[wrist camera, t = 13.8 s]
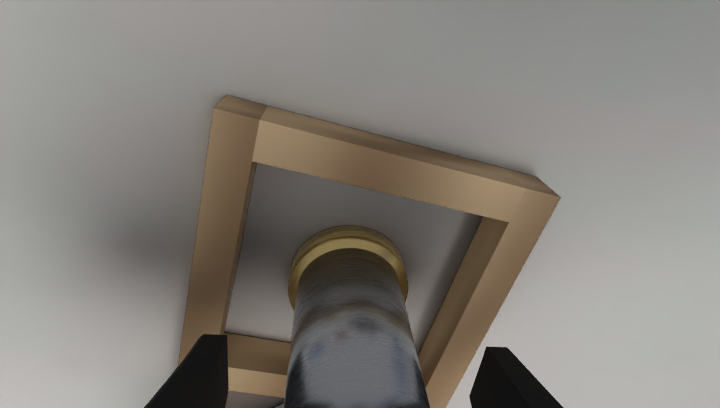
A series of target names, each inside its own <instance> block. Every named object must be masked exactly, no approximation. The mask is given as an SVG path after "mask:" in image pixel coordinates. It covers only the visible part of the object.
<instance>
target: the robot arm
mask: <svg viewBox="0 0 720 408" xmlns="http://www.w3.org/2000/svg"><path fill="white" fill-rule="evenodd" d="M228 390H229V382H228V345H227V335H215V334H203V335H202V336H200V337H199V338H198V340H197V341H196V343H195V344H194V346H193V347H192V348H191V350H190V351H189V353H188V354H187V355H186V357H185V358H184V359H183V361H182V362H181V363H180V365H179V366H178V367H177V368H176V370H175V371H174V372H173V374H172V375H171V376H170V377H169V379H168V380H167V381H166V382H165V383H164V385H163V386H162V387H161V388H160V389H159V391H158V392H157V393H156V394H155V395H154V397H153V398H152V399H151V400H150V401H149V403H148V404H147V405H146V406H145V407H144V408H225V404H226V399H227V395H228ZM470 401H471V406H472V408H563V407H562V406H561V405H560V404H559V403H558V402H557V400H556V399H555V398H554V397H553V396H552V395H551V394H550V393H549V392H548V391H547V390H546V389H545V388H544V387H543V386H542V384H541V383H540V382H539V381H538V380H537V379H536V378H535V377H534V376H533V375H532V374H531V373H530V371H529V370H528V369H527V368H526V367H525V366H524V365H523V364H522V363H521V362H520V361H519V360H518V358H517V357H516V356H515V355H514V354H513V353H512V352H511V351H510V350H509V349H508V348H505V347H486V350H485V353H484V356H483V359H482V362H481V364H480V367H479V370H478V373H477V376H476V379H475V382H474V385H473V387H472V390H471V393H470Z"/></svg>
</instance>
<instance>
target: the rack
mask: <svg viewBox="0 0 720 408" xmlns="http://www.w3.org/2000/svg"><path fill="white" fill-rule="evenodd" d="M257 162H258V163H262V164H266V165H270V166H274V167H279V168H283V169H287V170H291V171H295V172H300V173H304V174H308V175H312V176H316V177H321V178H325V179H329V180H333V181H337V182H342V183H346V184H350V185H354V186H358V187H363V188H367V189H371V190H375V191H379V192H384V193H388V194H392V195H396V196H400V197H405V198H409V199H413V200H417V201H421V202H426V203H430V204H434V205H438V206H442V207H447V208H451V209H455V210H459V211H463V212H468V213H472V214H476V215H480V216H483V218H482V221H481V223H480V225H479V227H478V229H477V231H476V233H475V235H474V238H473V240H472V242H471V244H470V246H469V248H468V250H467V252H466V255H465V257H464V259H463V261H462V263H461V265H460V267H459V269H458V272H457V274H456V276H455V278H454V280H453V282H452V284H451V287H450V289H449V291H448V293H447V295H446V297H445V299H444V301H443V304H442V306H441V308H440V310H439V312H438V314H437V316H436V318H435V321H434V323H433V325H432V327H431V329H430V331H429V333H428V335H427V338H426V340H425V342H424V344H423V346H422V348H421V350H420V352H419V355H418V360H419V364H420V368H421V372H422V376H423V381H424V385H425V389H426V393H427V397H428V401H429V405H430V408H446V406H447V404H448V402H449V400H450V399H451V397H452V395H453V393H454V391H455V390H456V388H457V386H458V384H459V382H460V380H461V379H462V377H463V375H464V373H465V371H466V370H467V368H468V366H469V364H470V362H471V360H472V359H473V357H474V355H475V353H476V351H477V349H478V348H479V346H480V344H481V342H482V340H483V339H484V337H485V335H486V333H487V331H488V329H489V328H490V326H491V324H492V322H493V320H494V318H495V317H496V315H497V313H498V311H499V309H500V308H501V306H502V304H503V302H504V300H505V298H506V297H507V295H508V293H509V291H510V289H511V287H512V286H513V284H514V282H515V280H516V278H517V277H518V275H519V273H520V271H521V269H522V267H523V266H524V264H525V262H526V260H527V258H528V256H529V255H530V253H531V251H532V249H533V247H534V246H535V244H536V242H537V240H538V238H539V236H540V235H541V233H542V231H543V229H544V227H545V226H546V224H547V222H548V220H549V218H550V216H551V215H552V213H553V211H554V209H555V207H556V205H557V204H558V202H559V200H560V198H561V197H560V196H559V195H557V194H556V193H555V192H554V191H553V190H552V189H550V188H549V187H548V186H547V185H546V184H545V183H543V182H542V181H541V180H540V179H539V178H538V177H534V176H531V175H527V174H523V173H519V172H516V171H512V170H508V169H504V168H500V167H497V166H493V165H489V164H485V163H482V162H478V161H474V160H470V159H466V158H463V157H459V156H455V155H451V154H448V153H444V152H440V151H436V150H432V149H429V148H425V147H421V146H417V145H413V144H410V143H406V142H402V141H398V140H395V139H391V138H387V137H383V136H379V135H376V134H372V133H368V132H364V131H361V130H357V129H353V128H349V127H345V126H342V125H338V124H334V123H330V122H327V121H323V120H319V119H315V118H311V117H308V116H304V115H300V114H296V113H293V112H289V111H285V110H281V109H277V108H274V107H270V106H266V105H262V104H258V103H255V102H251V101H247V100H243V99H240V98H236V97H232V96H228V95H227V96H226V97H224V98H223V99H222V100H221V101H220V102H219V103H218V104H217V105H216V106H215V107H214V108H213V114H212V121H211V129H210V136H209V143H208V151H207V158H206V165H205V173H204V180H203V187H202V195H201V202H200V209H199V217H198V224H197V231H196V239H195V246H194V253H193V261H192V268H191V275H190V283H189V290H188V297H187V305H186V312H185V319H184V327H183V334H182V341H181V349H180V356H179V363H178V366H179V365H180V363H181V362H182V361H183V359H184V358H185V357H186V355H187V354H188V353H189V351H190V350H191V348H192V347H193V346H194V344H195V343H196V341H197V340H198V338H199V337H200V336H202V335H203V334H215V335H227V345H228V382H229V390H228V391H236V392H243V393H250V394H258V395H265V396H273V397H280V398H284V397H285V389H286V380H287V371H288V363H289V354H290V345H291V343H286V342H280V341H273V340H267V339H261V338H255V337H248V336H242V335H236V334H230V333H224V330H225V325H226V320H227V314H228V309H229V304H230V299H231V294H232V288H233V283H234V278H235V273H236V268H237V262H238V257H239V252H240V247H241V242H242V236H243V231H244V226H245V221H246V216H247V211H248V205H249V200H250V195H251V190H252V185H253V179H254V174H255V169H256V164H257Z"/></svg>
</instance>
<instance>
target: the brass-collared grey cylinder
mask: <svg viewBox="0 0 720 408" xmlns="http://www.w3.org/2000/svg"><path fill="white" fill-rule="evenodd" d="M407 293H408V280H407V275H406V272H405V268H404V265H403V261H402V258H401V255H400V253H399V251H398V249H397V248H396V247H395V245H394V244H393V243H392V242H391V241H390V240H389V239H388V238H387V237H385V236H384V235H382V234H381V233H379V232H377V231H375V230H372V229H369V228H366V227H362V226H354V225H344V226H336V227H332V228H328V229H326V230H323V231H321V232H319V233H317V234H315V235H313V236H312V237H310V238H309V239H308V240H307V241H306V242H304V244H303V245H302V246H301V247H300V248H299V250H298V251H297V253H296V255H295V257H294V259H293V262H292V266H291V273H290V279H289V287H288V294H289V300H290V303H291V306H292V308H293V310H294V320H293V328H292V337H291V345H290V354H289V363H288V371H287V380H286V389H285V397H284V406H283V408H430V405H429V401H428V397H427V393H426V389H425V385H424V381H423V376H422V372H421V368H420V364H419V360H418V356H417V352H416V348H415V344H414V340H413V336H412V332H411V328H410V324H409V320H408V316H407V311H406V307H405V301H406V297H407Z"/></svg>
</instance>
